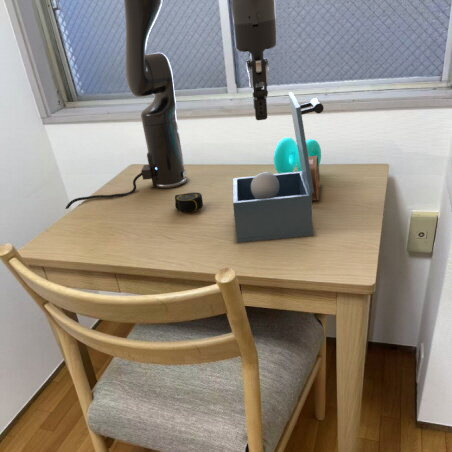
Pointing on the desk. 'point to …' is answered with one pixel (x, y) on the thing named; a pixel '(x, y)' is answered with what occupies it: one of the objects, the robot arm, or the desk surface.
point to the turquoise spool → (293, 154)
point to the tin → (314, 176)
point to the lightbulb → (265, 186)
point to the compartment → (273, 209)
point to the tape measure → (188, 202)
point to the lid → (300, 134)
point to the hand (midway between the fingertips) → (260, 114)
